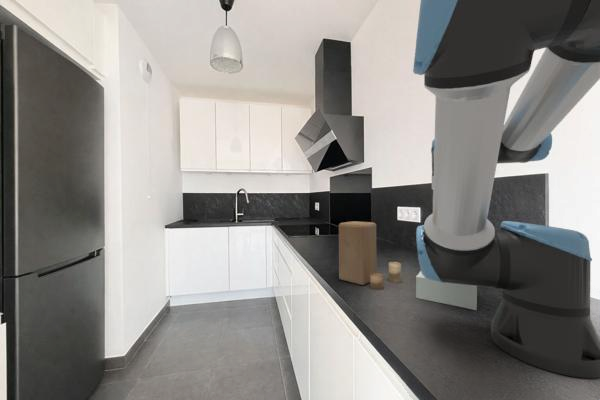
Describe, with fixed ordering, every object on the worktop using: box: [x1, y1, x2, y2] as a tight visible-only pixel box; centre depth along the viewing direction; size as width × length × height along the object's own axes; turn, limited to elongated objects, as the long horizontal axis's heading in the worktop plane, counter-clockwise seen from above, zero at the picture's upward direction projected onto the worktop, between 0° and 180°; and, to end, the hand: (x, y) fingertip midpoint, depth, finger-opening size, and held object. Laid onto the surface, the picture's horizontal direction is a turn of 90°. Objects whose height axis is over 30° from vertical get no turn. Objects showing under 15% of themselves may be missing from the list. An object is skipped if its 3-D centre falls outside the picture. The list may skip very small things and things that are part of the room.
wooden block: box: [338, 220, 378, 286], centre depth 87 cm, size 10×10×20 cm
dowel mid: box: [388, 261, 402, 284], centre depth 85 cm, size 4×4×6 cm
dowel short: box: [369, 273, 384, 291], centre depth 79 cm, size 4×4×4 cm
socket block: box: [415, 270, 478, 311], centre depth 72 cm, size 14×14×6 cm
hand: (447, 263), depth 72 cm, fingers open, 13 cm apart
